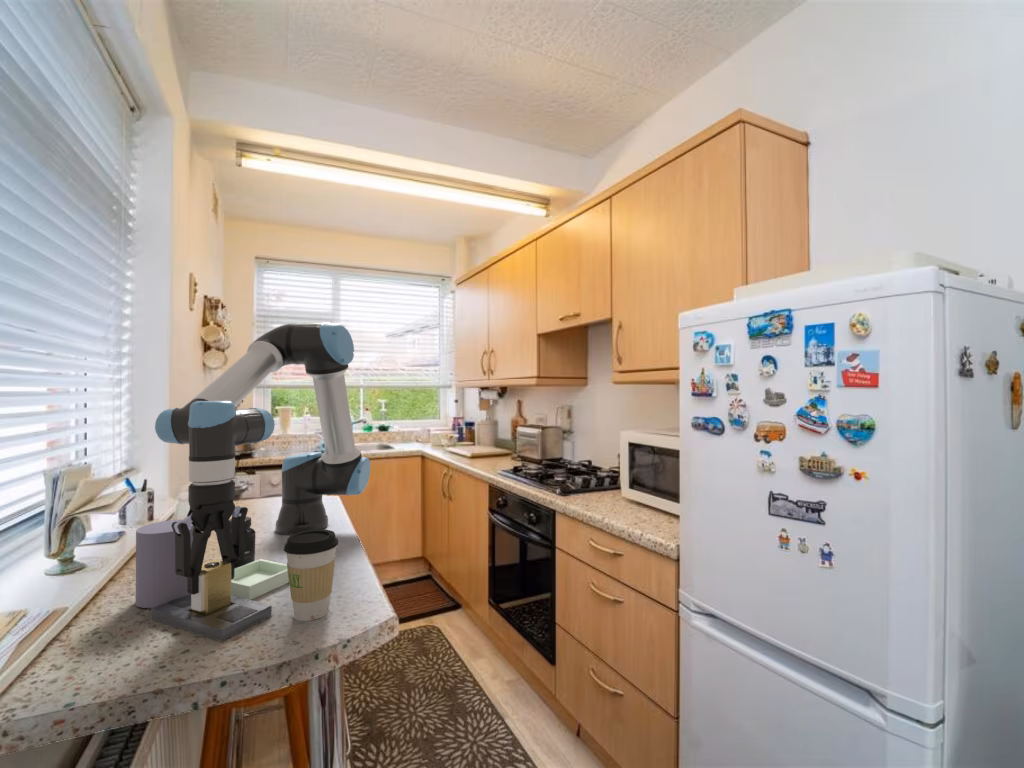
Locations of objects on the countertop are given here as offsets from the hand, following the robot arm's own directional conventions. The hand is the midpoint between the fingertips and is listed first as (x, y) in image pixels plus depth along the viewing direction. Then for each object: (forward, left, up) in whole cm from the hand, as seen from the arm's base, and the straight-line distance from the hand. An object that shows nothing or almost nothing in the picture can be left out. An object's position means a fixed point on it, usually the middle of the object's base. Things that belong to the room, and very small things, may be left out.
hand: (211, 603), depth 90 cm
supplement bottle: (-19, -18, -3) cm, 26 cm away
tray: (-14, -6, -3) cm, 15 cm away
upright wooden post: (0, 0, -3) cm, 3 cm away
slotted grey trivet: (0, 0, -3) cm, 3 cm away
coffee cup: (-9, +16, -3) cm, 19 cm away
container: (-2, -17, -3) cm, 17 cm away
